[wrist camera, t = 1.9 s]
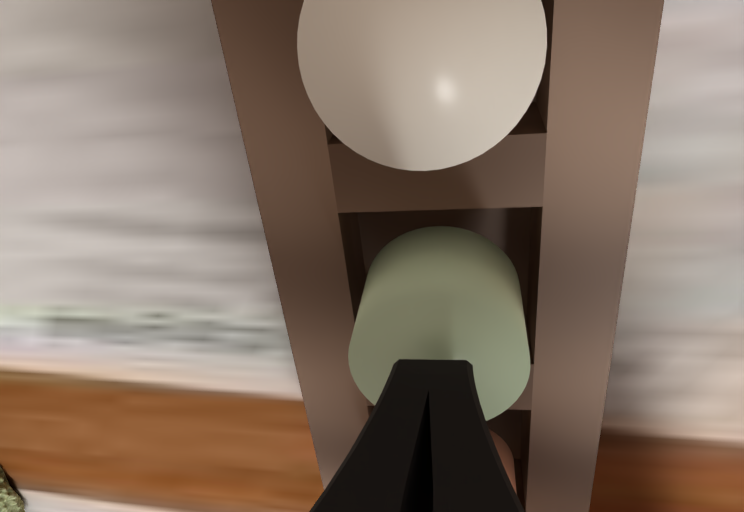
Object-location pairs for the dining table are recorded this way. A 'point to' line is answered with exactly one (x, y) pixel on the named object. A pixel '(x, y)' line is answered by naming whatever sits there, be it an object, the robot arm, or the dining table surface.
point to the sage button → (443, 314)
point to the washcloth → (9, 496)
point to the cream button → (421, 74)
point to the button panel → (461, 224)
